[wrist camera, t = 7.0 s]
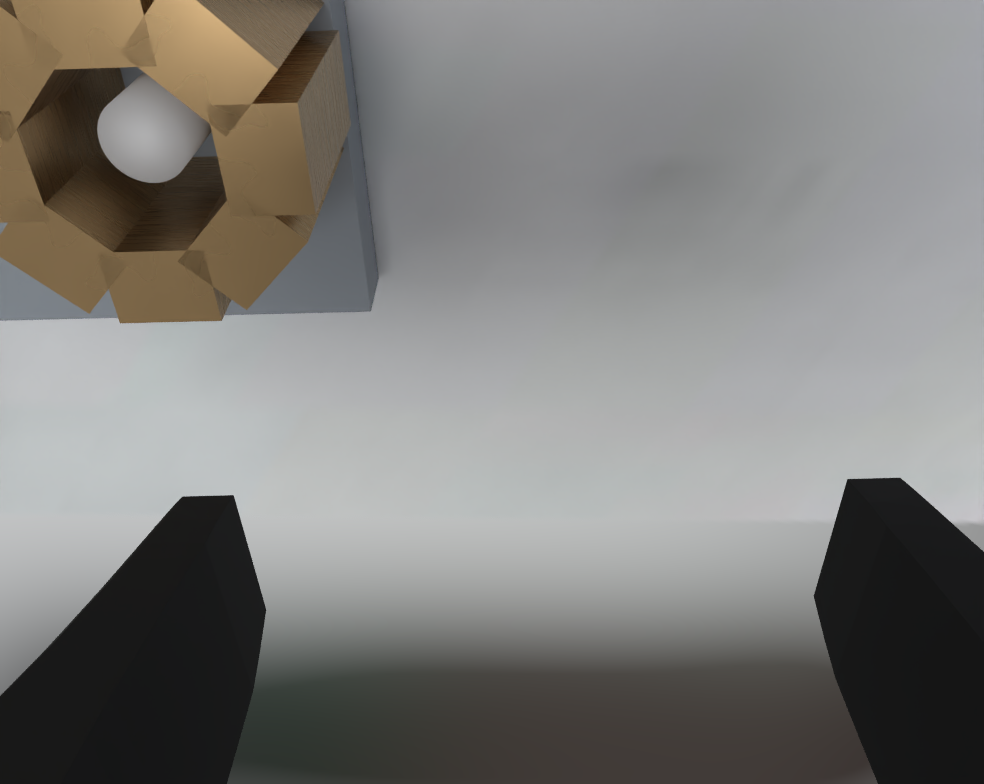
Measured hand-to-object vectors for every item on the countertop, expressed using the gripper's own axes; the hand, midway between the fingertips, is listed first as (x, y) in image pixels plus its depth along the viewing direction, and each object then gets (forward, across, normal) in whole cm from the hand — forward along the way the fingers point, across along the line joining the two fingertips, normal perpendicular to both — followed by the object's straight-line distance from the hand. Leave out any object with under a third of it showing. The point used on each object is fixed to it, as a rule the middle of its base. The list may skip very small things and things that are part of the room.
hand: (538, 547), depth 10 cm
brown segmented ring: (+9, +6, -3) cm, 11 cm away
